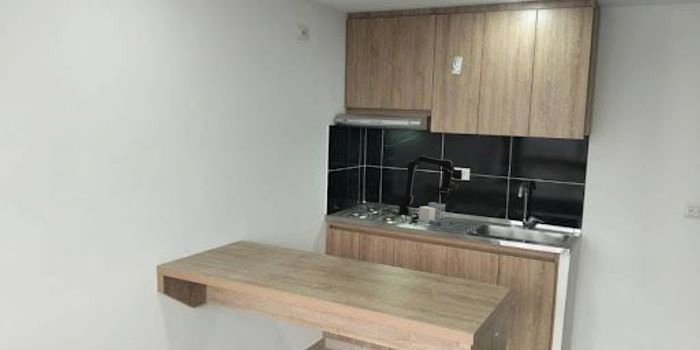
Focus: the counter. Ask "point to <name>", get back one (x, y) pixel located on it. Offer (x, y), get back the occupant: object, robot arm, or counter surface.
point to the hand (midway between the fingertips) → (444, 200)
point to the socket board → (438, 222)
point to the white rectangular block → (426, 213)
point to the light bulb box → (438, 209)
